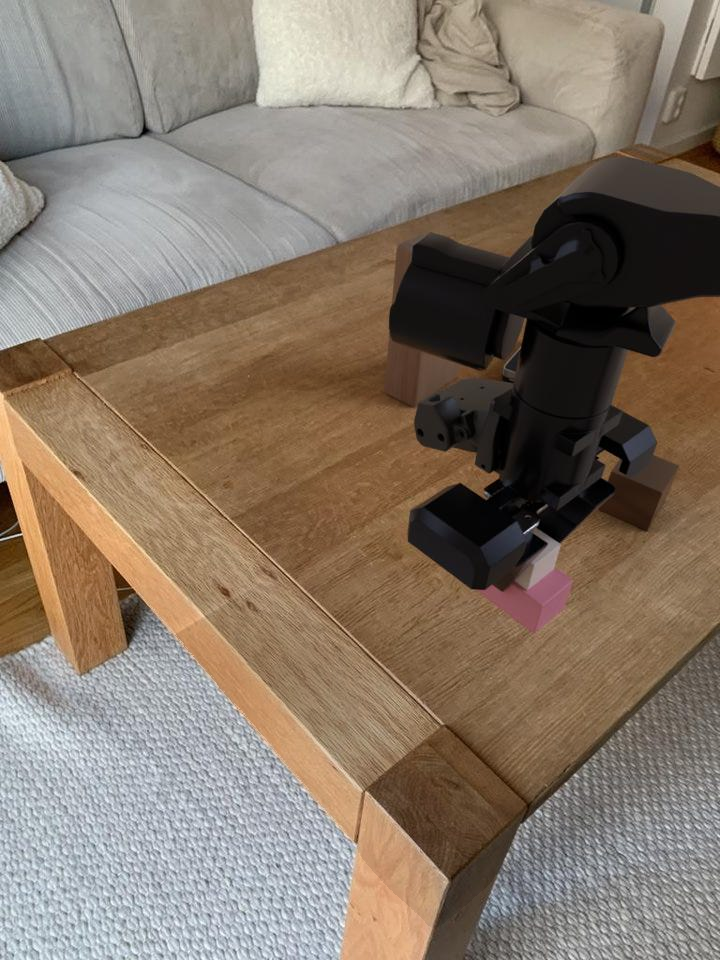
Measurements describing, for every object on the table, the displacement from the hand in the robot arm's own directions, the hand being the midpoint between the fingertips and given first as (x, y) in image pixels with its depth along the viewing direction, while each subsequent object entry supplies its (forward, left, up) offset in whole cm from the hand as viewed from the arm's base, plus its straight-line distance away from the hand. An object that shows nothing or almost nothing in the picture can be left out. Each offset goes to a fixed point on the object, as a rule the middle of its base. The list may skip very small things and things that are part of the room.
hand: (516, 573), depth 58 cm
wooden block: (+25, -31, -12) cm, 42 cm away
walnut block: (-2, -26, -11) cm, 28 cm away
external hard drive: (+15, -43, -12) cm, 47 cm away
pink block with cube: (0, 0, -2) cm, 2 cm away
